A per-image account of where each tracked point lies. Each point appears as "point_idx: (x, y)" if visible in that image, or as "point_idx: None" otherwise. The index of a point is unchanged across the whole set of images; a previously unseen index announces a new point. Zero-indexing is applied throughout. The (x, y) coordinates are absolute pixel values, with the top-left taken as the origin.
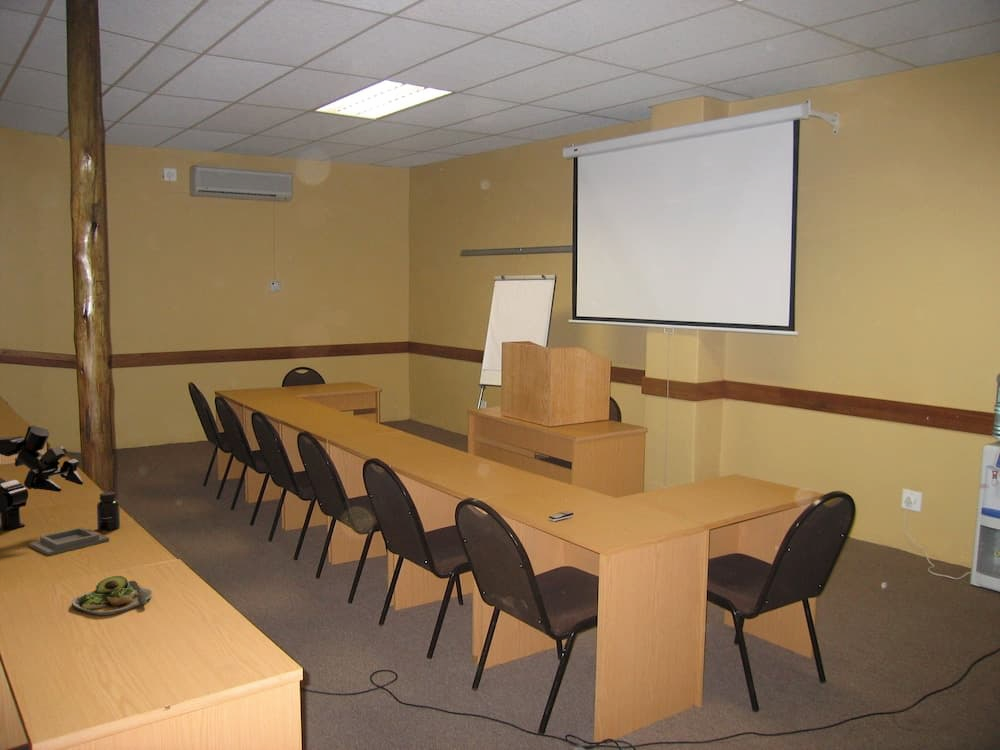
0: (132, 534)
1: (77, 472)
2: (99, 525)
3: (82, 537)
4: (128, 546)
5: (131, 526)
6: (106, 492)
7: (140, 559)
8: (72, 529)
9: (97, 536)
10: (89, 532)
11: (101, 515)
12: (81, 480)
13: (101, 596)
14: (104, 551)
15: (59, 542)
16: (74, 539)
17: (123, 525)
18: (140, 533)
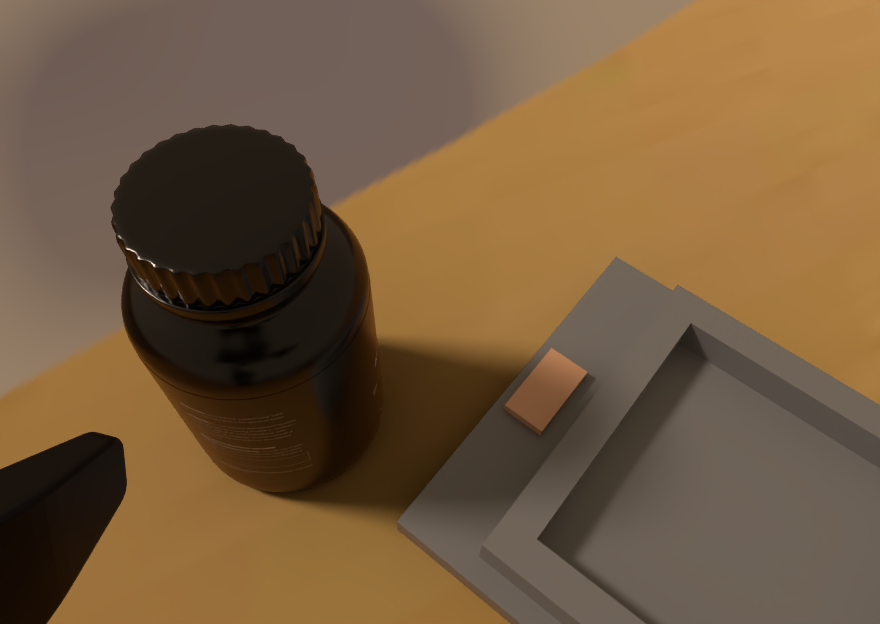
0: (455, 192)
1: None
2: (367, 427)
3: (644, 454)
4: (695, 129)
5: None
6: (144, 229)
7: (871, 17)
8: (564, 598)
9: (683, 297)
10: (633, 382)
11: (372, 353)
12: (57, 461)
13: None
14: (819, 212)
15: (821, 591)
16: (839, 412)
17: None
18: (431, 157)
